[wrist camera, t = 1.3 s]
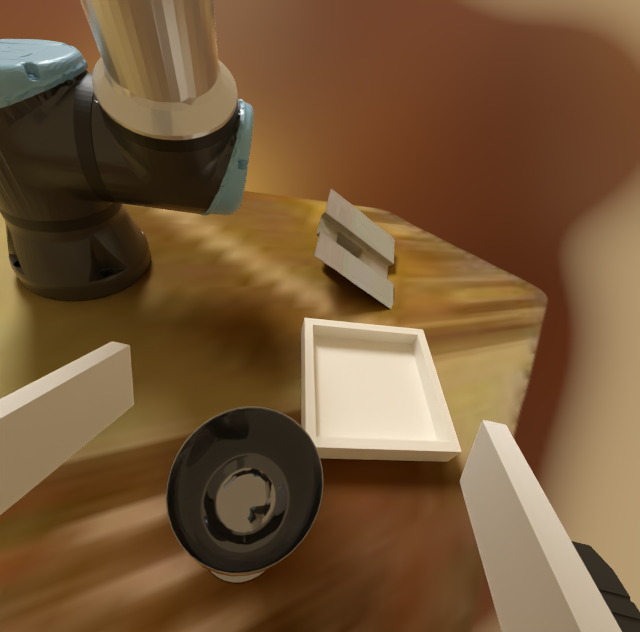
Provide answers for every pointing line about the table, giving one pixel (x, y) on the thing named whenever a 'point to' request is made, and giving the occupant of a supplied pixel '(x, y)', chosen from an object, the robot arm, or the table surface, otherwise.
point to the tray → (373, 394)
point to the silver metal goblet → (244, 491)
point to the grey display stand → (356, 248)
